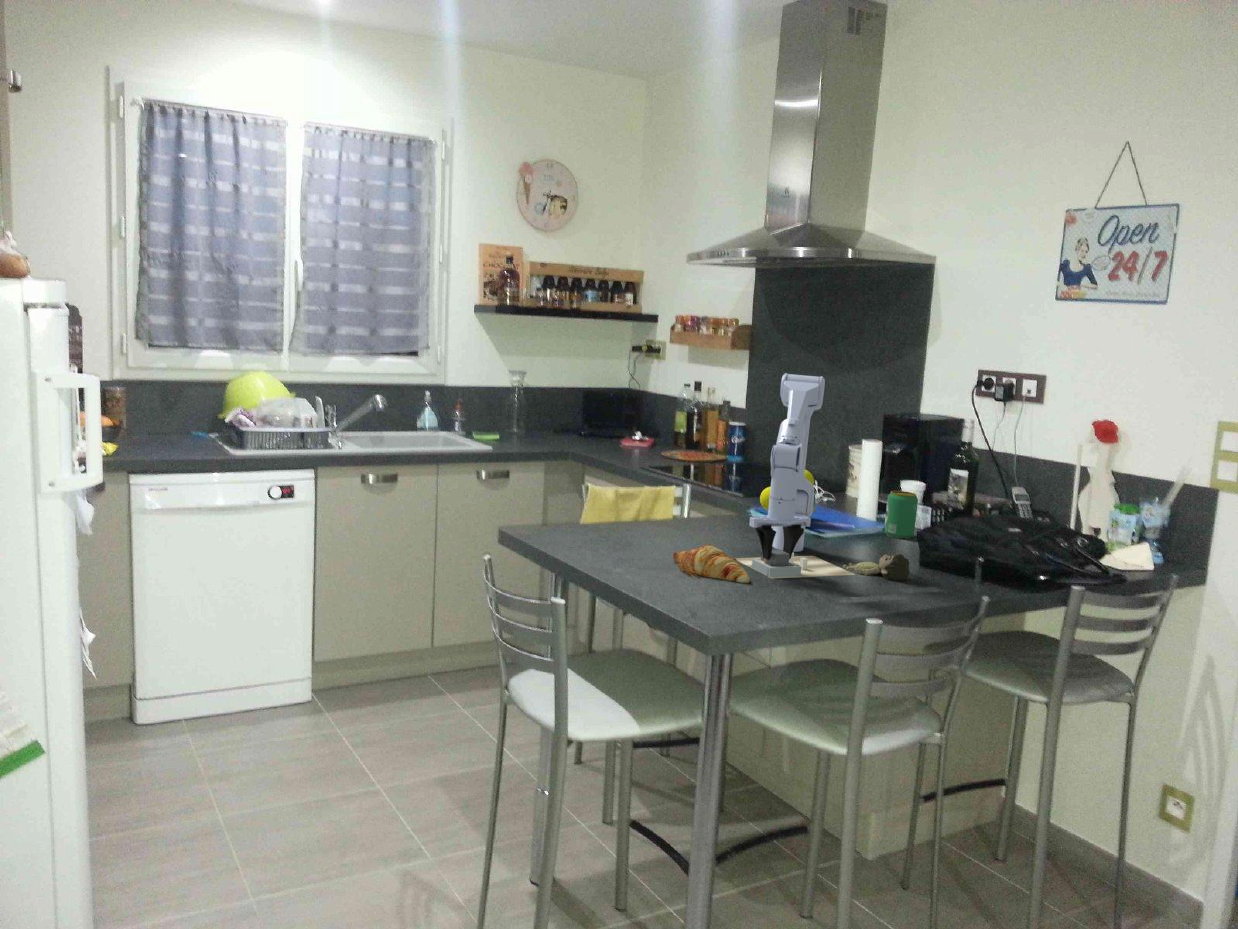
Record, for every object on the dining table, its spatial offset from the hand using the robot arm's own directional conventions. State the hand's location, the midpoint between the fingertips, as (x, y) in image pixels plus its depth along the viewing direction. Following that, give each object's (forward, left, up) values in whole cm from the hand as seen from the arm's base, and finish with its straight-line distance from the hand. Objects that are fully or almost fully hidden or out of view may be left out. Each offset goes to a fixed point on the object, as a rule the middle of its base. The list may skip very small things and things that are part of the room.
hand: (776, 558), depth 224 cm
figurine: (+5, +24, -4) cm, 25 cm away
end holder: (0, 0, -3) cm, 3 cm away
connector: (-2, 0, -3) cm, 3 cm away
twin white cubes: (-4, +8, -3) cm, 9 cm away
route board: (-3, +7, -4) cm, 9 cm away
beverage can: (-33, +60, -4) cm, 69 cm away
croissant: (-2, -16, -4) cm, 16 cm away
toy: (-53, +38, -4) cm, 65 cm away
